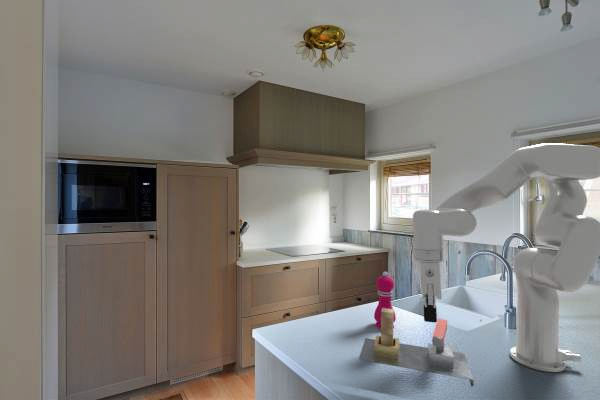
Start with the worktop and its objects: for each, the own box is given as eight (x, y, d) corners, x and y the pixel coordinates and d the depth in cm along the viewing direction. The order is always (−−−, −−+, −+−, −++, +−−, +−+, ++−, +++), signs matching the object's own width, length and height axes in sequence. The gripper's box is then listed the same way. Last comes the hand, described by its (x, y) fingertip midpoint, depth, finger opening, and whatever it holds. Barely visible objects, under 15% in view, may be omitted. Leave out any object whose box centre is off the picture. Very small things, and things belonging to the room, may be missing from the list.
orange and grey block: (437, 338, 93) (437, 317, 93) (447, 340, 92) (447, 319, 92) (431, 362, 80) (431, 337, 80) (442, 364, 79) (442, 339, 79)
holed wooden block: (399, 348, 93) (399, 338, 93) (398, 359, 87) (398, 348, 87) (376, 345, 95) (376, 335, 95) (373, 355, 89) (374, 344, 89)
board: (464, 357, 91) (464, 342, 91) (473, 384, 78) (473, 367, 78) (365, 341, 100) (365, 328, 100) (358, 363, 87) (358, 348, 87)
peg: (392, 350, 92) (393, 309, 92) (392, 355, 89) (392, 313, 89) (381, 348, 93) (382, 307, 93) (380, 353, 90) (381, 311, 90)
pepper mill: (396, 334, 106) (397, 274, 105) (374, 332, 107) (374, 273, 107) (394, 326, 113) (395, 270, 112) (373, 324, 114) (374, 268, 114)
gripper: (446, 260, 79) (448, 333, 79) (440, 250, 93) (442, 312, 94) (414, 259, 82) (416, 330, 82) (413, 249, 96) (415, 310, 96)
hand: (430, 320), depth 88 cm, fingers closed
